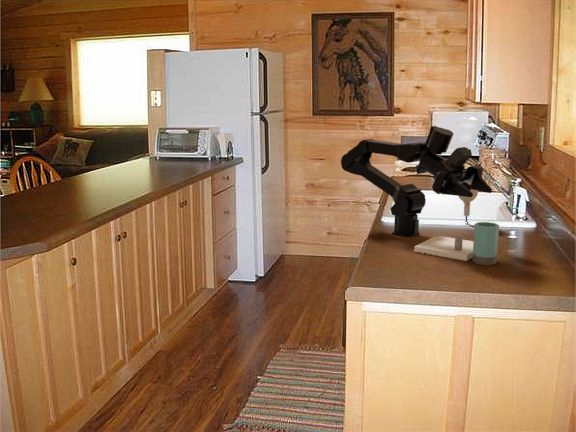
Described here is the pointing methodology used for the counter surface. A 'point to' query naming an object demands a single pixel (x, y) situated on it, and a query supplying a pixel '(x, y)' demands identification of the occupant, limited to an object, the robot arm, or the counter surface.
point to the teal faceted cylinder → (485, 243)
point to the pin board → (447, 247)
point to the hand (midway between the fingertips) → (482, 193)
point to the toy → (468, 201)
